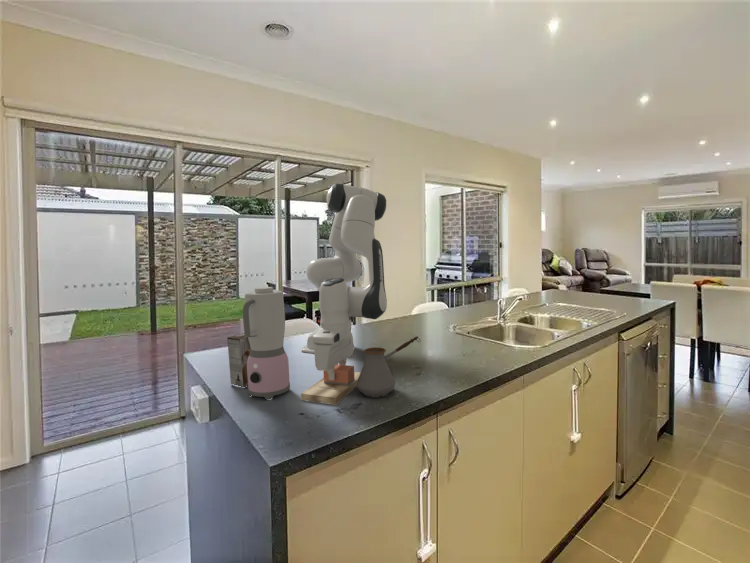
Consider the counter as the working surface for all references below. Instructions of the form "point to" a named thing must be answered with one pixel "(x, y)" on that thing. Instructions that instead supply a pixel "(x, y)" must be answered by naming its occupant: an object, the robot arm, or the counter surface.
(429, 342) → the counter surface
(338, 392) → the maple board
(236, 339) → the coffee box
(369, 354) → the coffee pot
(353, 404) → the counter surface
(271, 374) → the blender
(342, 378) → the block
